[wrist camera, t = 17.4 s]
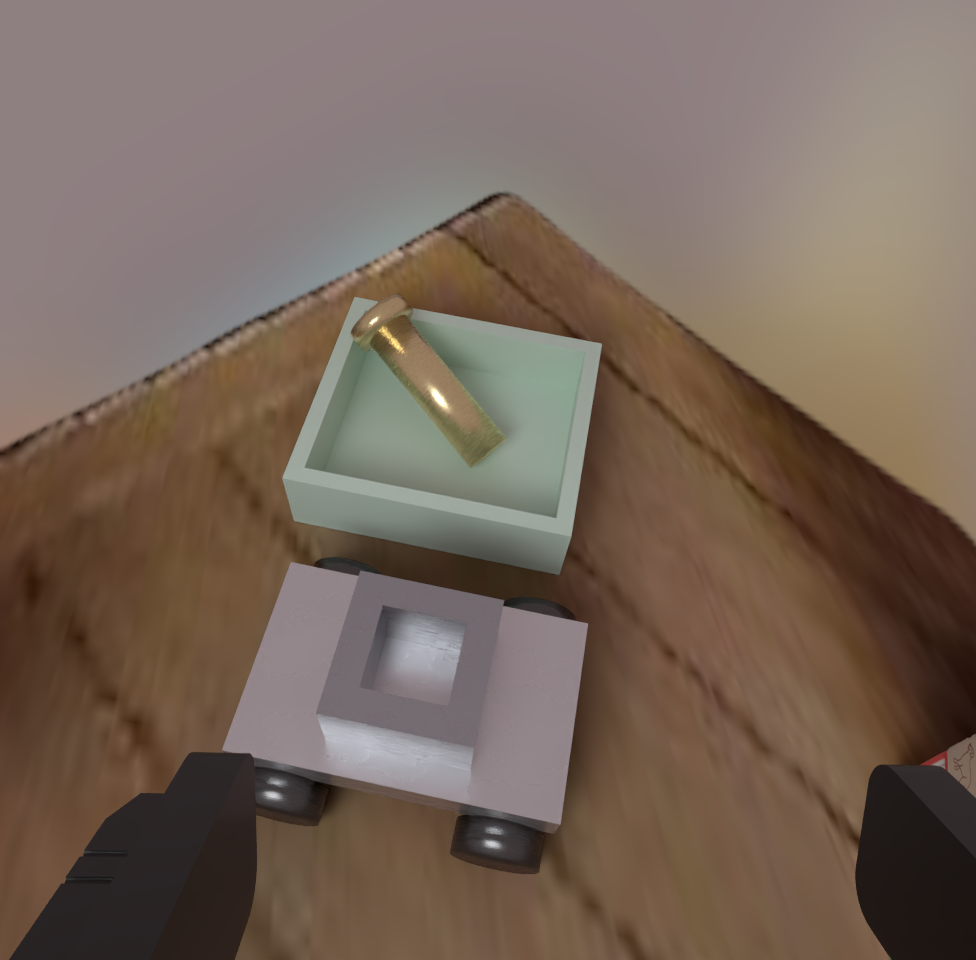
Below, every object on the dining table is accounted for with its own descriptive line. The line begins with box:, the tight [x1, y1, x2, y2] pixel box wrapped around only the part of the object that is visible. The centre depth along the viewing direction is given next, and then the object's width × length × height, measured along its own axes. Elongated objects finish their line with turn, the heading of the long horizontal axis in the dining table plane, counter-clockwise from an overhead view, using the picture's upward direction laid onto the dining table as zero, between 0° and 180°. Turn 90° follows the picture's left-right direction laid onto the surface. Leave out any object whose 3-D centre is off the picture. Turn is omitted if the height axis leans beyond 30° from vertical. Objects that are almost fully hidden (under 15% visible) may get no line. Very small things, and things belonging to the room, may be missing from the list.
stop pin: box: [350, 294, 507, 468], centre depth 53 cm, size 4×4×12 cm
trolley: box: [222, 557, 588, 874], centre depth 41 cm, size 16×13×10 cm
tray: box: [282, 297, 602, 575], centre depth 53 cm, size 17×15×5 cm
